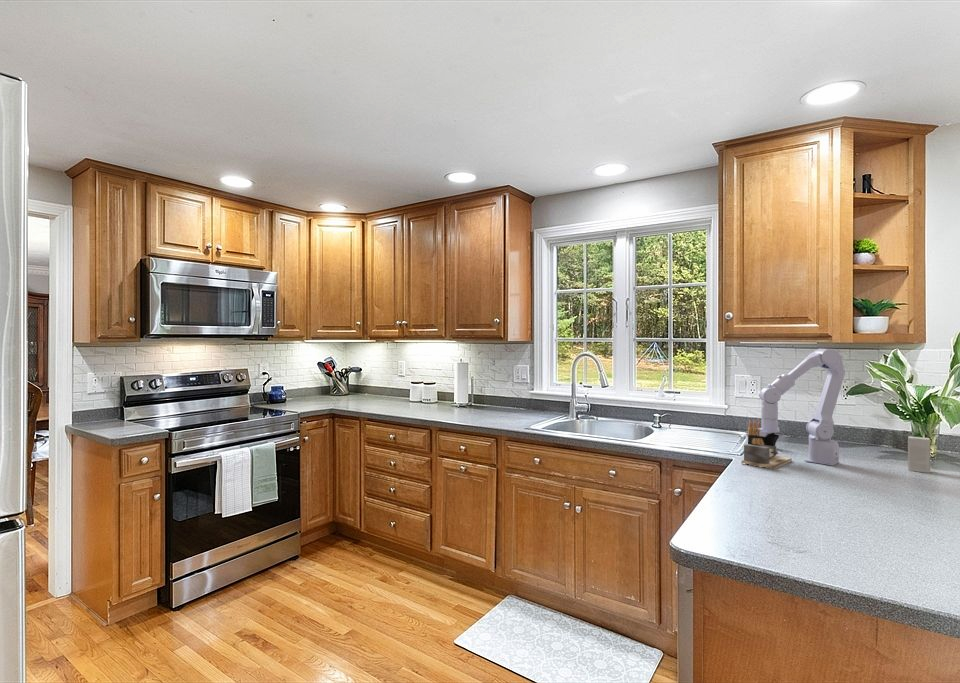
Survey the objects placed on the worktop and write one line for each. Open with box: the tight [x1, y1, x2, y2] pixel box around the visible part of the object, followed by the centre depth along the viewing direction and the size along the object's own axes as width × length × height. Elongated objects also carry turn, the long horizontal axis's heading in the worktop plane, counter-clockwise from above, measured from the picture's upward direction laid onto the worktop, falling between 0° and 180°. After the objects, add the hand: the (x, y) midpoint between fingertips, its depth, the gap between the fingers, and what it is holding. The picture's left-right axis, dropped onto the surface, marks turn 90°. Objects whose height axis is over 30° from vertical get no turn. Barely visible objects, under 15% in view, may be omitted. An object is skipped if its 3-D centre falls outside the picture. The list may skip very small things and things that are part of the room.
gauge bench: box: [741, 443, 793, 470], centre depth 200 cm, size 11×19×7 cm, turn 130°
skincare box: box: [907, 435, 931, 474], centre depth 186 cm, size 6×4×12 cm
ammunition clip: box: [747, 419, 764, 446], centre depth 228 cm, size 11×2×12 cm, turn 56°
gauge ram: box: [759, 444, 779, 457], centre depth 200 cm, size 8×8×4 cm
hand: (769, 452), depth 204 cm, fingers closed
